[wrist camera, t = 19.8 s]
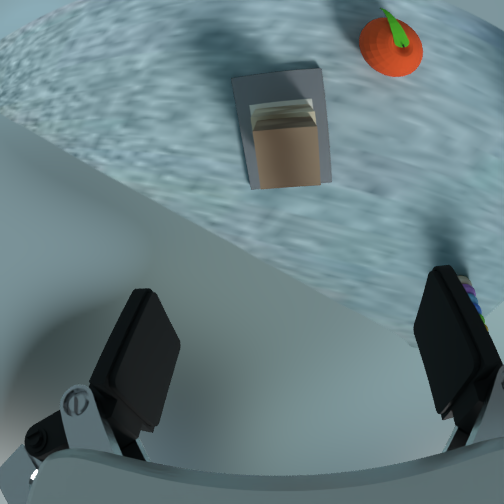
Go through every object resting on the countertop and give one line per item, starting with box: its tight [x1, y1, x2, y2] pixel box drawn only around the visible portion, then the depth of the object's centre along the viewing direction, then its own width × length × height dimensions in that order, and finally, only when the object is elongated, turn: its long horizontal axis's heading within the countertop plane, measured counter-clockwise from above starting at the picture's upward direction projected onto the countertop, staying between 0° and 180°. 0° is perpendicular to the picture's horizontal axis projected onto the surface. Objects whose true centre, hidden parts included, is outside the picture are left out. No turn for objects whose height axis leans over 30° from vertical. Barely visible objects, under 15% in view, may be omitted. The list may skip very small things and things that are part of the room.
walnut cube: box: [253, 116, 321, 189], centre depth 25 cm, size 5×5×5 cm
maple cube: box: [251, 104, 316, 130], centre depth 29 cm, size 6×6×6 cm
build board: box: [231, 68, 332, 190], centre depth 32 cm, size 10×14×1 cm
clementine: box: [359, 8, 423, 77], centre depth 22 cm, size 8×7×7 cm
